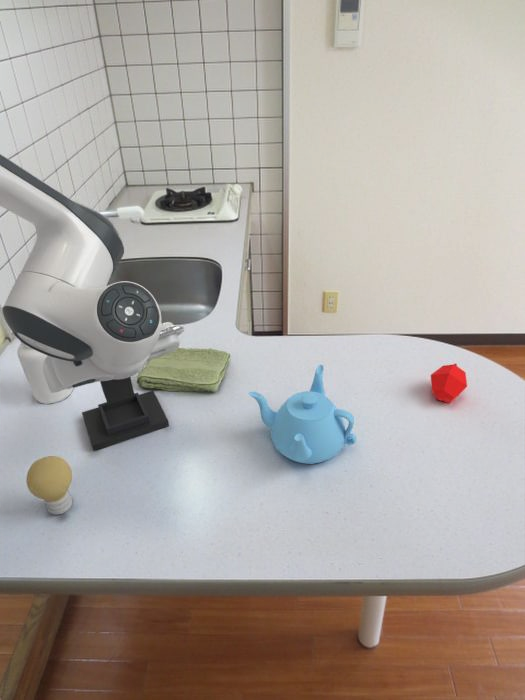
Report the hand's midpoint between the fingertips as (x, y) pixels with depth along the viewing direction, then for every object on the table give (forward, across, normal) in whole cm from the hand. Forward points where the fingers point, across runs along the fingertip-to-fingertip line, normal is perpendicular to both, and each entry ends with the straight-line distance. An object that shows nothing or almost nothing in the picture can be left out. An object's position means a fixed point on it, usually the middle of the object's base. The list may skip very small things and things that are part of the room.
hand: (111, 367), depth 86 cm
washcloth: (+21, -17, +3) cm, 27 cm away
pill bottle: (+27, +9, -4) cm, 29 cm away
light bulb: (+6, +14, +18) cm, 23 cm away
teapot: (0, -26, +24) cm, 35 cm away
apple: (-3, -57, +27) cm, 63 cm away
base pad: (+15, -1, +8) cm, 17 cm away
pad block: (+3, 0, +4) cm, 5 cm away
